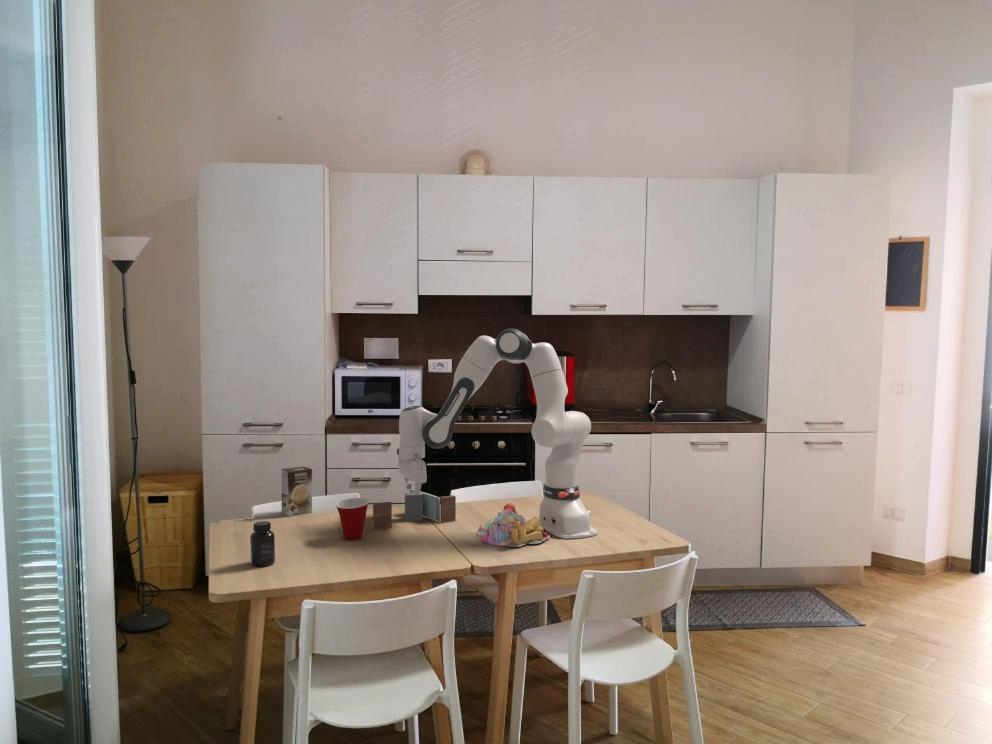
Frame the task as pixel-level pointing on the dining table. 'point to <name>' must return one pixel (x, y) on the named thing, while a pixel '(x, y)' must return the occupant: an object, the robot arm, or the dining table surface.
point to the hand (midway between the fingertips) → (412, 491)
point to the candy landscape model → (512, 529)
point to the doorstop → (413, 506)
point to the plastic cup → (352, 517)
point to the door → (430, 506)
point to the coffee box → (296, 491)
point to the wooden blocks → (384, 512)
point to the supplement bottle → (262, 544)
